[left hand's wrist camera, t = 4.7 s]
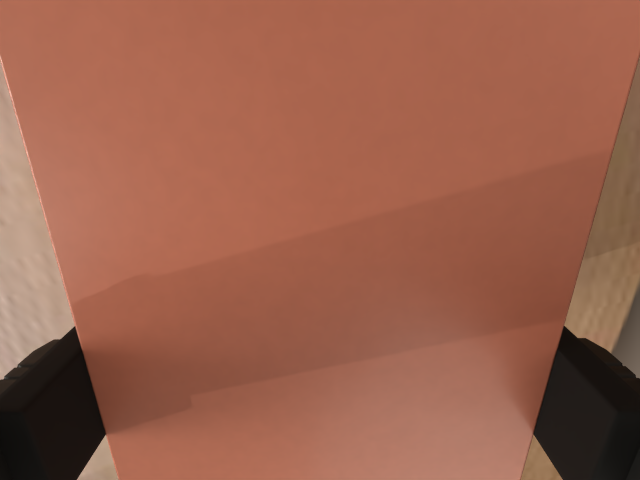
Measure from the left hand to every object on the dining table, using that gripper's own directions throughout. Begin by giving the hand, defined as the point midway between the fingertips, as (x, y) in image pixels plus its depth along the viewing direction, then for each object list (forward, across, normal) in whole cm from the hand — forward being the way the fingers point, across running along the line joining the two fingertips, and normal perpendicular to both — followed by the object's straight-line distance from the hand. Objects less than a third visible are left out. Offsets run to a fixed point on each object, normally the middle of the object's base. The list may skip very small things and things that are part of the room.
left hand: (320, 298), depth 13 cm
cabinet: (+4, 0, -5) cm, 7 cm away
